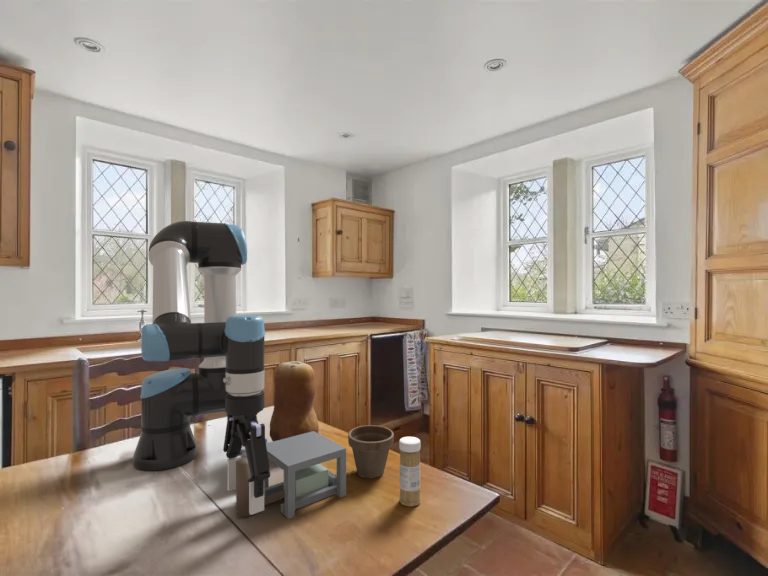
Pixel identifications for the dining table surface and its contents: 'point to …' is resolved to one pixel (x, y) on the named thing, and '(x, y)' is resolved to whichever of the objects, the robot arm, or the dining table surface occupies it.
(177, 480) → the dining table surface
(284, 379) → the butternut squash
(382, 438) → the flower pot
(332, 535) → the dining table surface
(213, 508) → the dining table surface
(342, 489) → the grey step stool
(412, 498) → the sprinkles bottle
